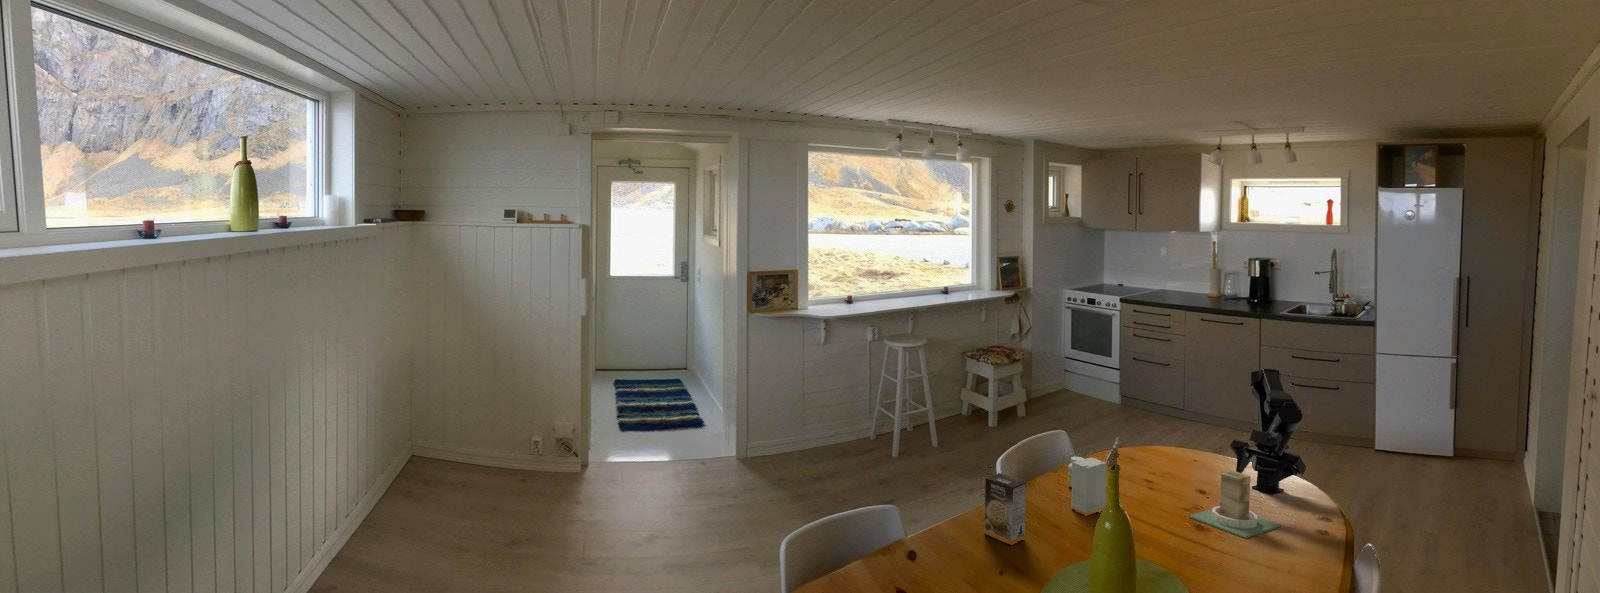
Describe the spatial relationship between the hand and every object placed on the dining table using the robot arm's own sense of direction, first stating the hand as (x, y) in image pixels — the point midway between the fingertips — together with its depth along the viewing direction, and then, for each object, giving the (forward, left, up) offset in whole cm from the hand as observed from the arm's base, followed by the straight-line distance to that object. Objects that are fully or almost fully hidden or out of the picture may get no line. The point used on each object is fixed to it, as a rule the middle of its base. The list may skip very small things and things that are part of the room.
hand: (1253, 480), depth 205 cm
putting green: (+8, 0, -11) cm, 13 cm away
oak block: (+8, 0, -10) cm, 13 cm away
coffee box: (+71, -23, -11) cm, 76 cm away
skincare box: (+37, -25, -11) cm, 46 cm away
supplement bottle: (+25, -40, -11) cm, 48 cm away
